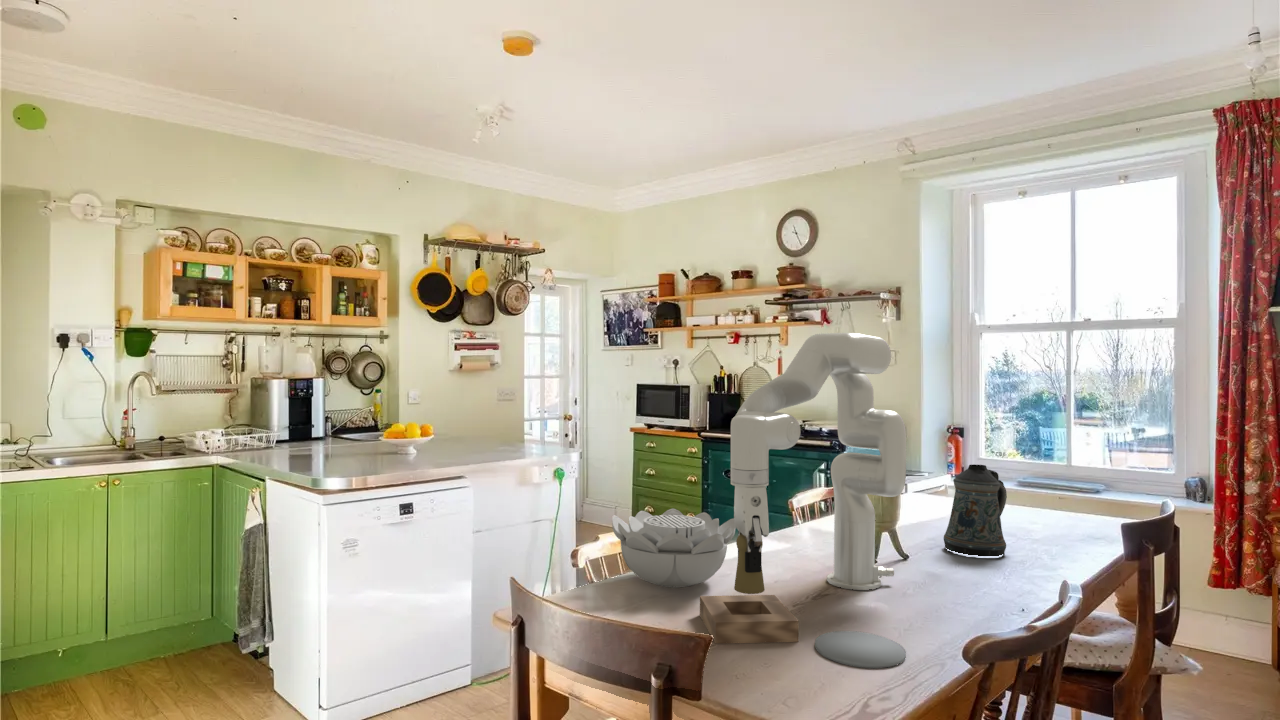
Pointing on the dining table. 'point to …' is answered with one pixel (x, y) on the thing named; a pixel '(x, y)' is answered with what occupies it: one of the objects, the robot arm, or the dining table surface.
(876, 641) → the slate mat
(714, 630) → the walnut holder
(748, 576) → the cork
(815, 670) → the dining table surface
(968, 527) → the beer stein
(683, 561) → the decorative bowl
